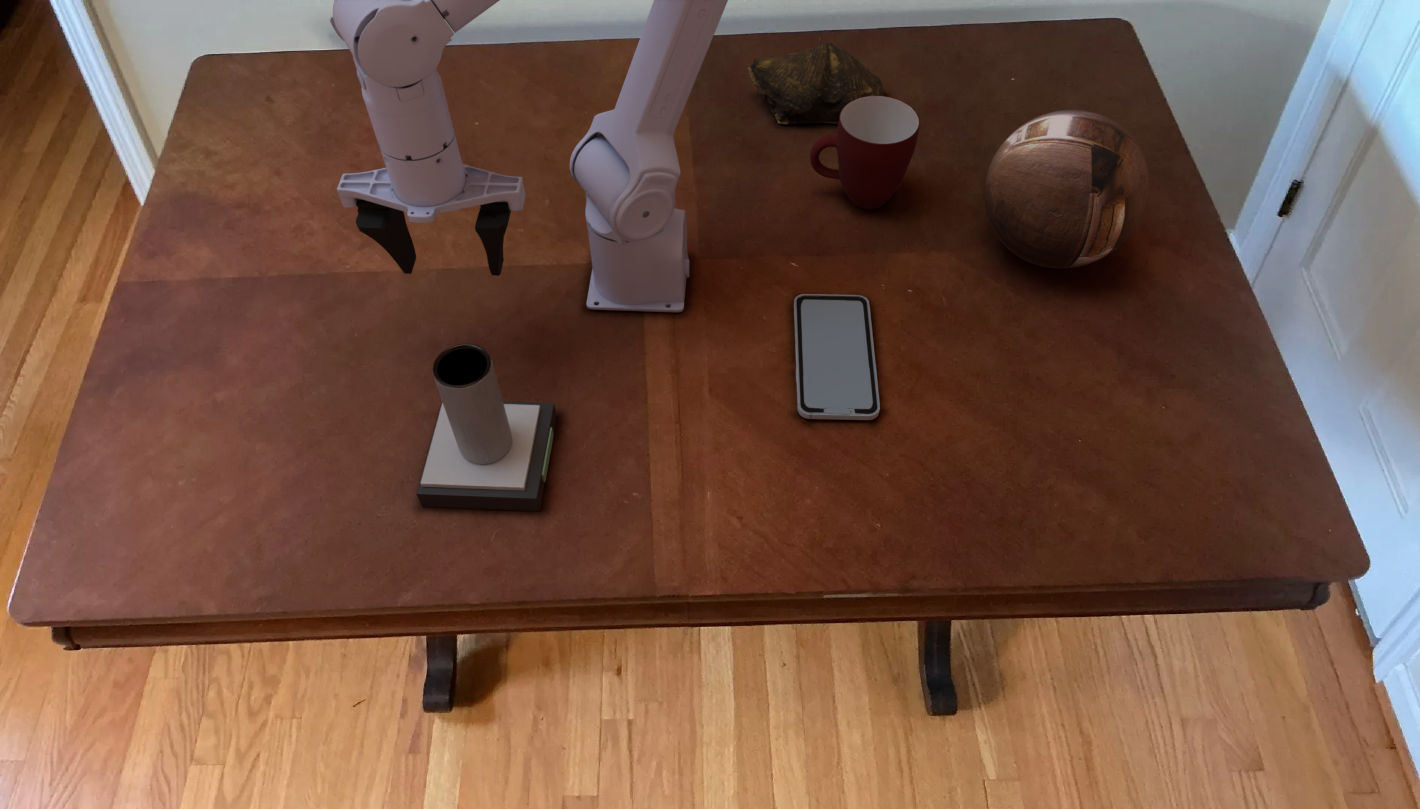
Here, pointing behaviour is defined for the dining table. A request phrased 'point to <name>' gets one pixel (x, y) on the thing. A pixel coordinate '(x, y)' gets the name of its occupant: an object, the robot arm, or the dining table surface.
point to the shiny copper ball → (1066, 189)
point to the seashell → (812, 83)
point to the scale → (491, 464)
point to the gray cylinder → (473, 402)
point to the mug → (870, 148)
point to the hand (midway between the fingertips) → (453, 266)
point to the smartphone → (835, 358)
